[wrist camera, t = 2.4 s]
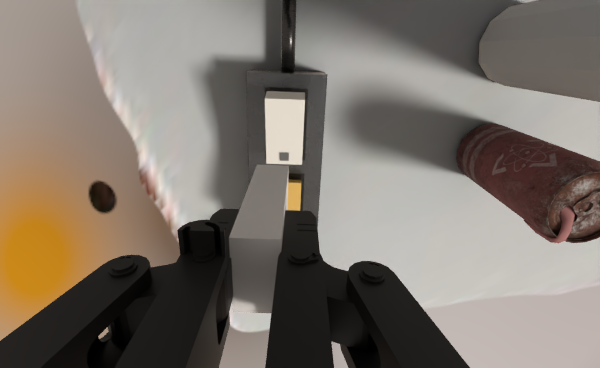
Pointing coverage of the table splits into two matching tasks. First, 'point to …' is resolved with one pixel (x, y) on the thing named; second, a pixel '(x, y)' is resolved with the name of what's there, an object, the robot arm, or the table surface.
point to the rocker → (284, 127)
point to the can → (536, 181)
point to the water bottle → (545, 48)
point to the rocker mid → (294, 194)
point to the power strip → (313, 113)
